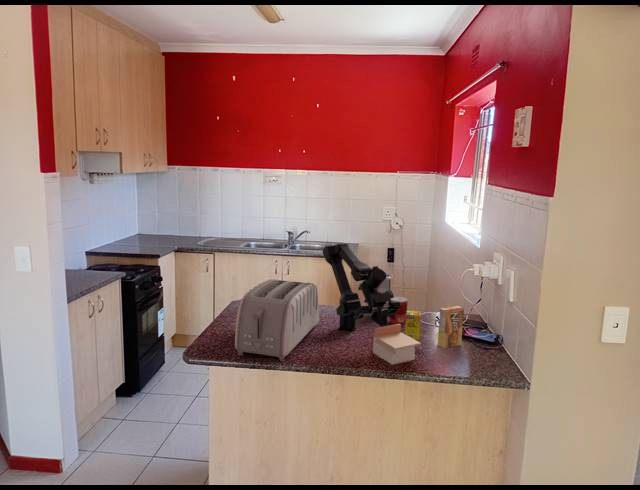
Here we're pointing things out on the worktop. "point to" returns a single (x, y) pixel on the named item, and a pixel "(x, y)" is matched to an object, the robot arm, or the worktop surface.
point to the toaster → (276, 317)
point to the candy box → (450, 326)
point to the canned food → (399, 311)
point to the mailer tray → (391, 358)
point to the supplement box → (413, 324)
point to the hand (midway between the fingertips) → (386, 329)
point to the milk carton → (385, 287)
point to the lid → (394, 338)
